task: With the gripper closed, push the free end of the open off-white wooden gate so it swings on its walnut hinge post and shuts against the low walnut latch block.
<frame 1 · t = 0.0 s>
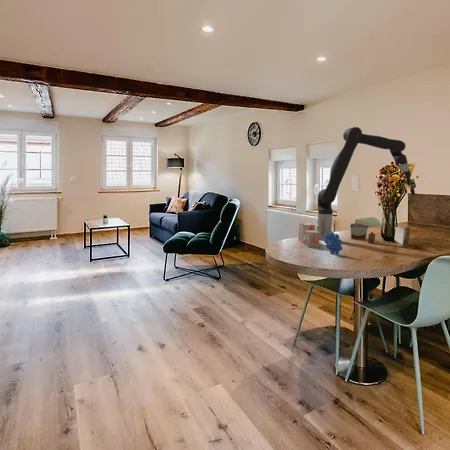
hand: (409, 193, 230), 31 cm above the table, tool tilted 20°, fingers open, 8 cm apart
latch post: (371, 243, 221), on the table
stack of blocks: (308, 244, 214), on the table
food container: (357, 238, 236), on the table
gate: (400, 235, 219), point 5 cm above the table, hinge at -55.0°
hinge post: (405, 247, 209), on the table
grapes: (331, 254, 188), on the table
sill: (388, 245, 216), on the table
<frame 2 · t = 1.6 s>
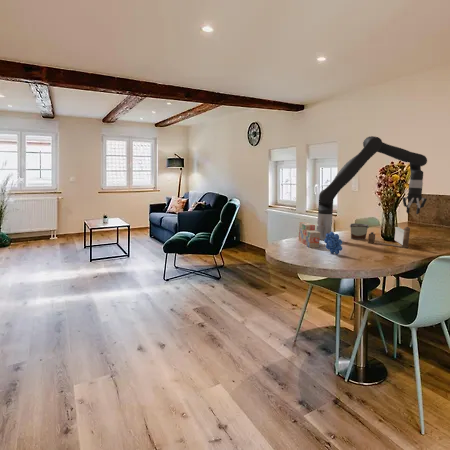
hand: (412, 213, 221), 19 cm above the table, tool pointing down, fingers open, 4 cm apart
nothing on the table moved.
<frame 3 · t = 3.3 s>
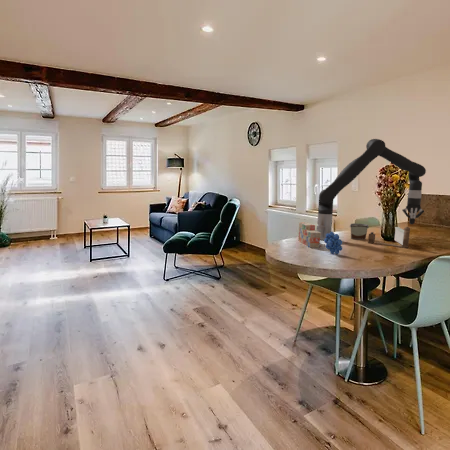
hand: (411, 224, 222), 13 cm above the table, tool pointing down, fingers closed
nothing on the table moved.
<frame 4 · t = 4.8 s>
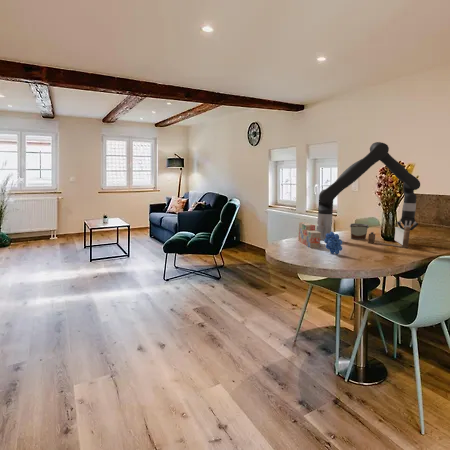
hand: (405, 236, 224), 4 cm above the table, tool pointing down, fingers closed
nothing on the table moved.
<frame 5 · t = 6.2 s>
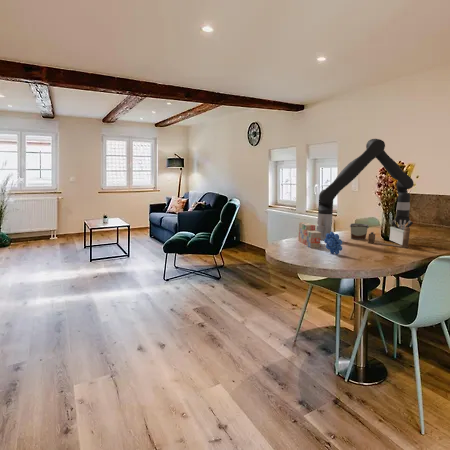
hand: (400, 235, 224), 5 cm above the table, tool pointing down, fingers closed
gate: (397, 235, 219), point 5 cm above the table, hinge at -45.8°, touching hand
everything else where it was.
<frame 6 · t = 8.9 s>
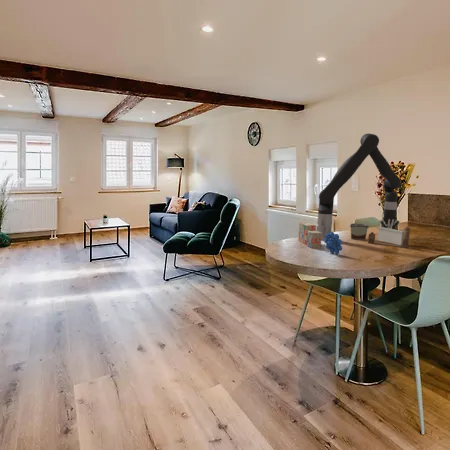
hand: (388, 234, 225), 5 cm above the table, tool pointing down, fingers closed
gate: (390, 235, 218), point 5 cm above the table, hinge at -19.4°, touching hand
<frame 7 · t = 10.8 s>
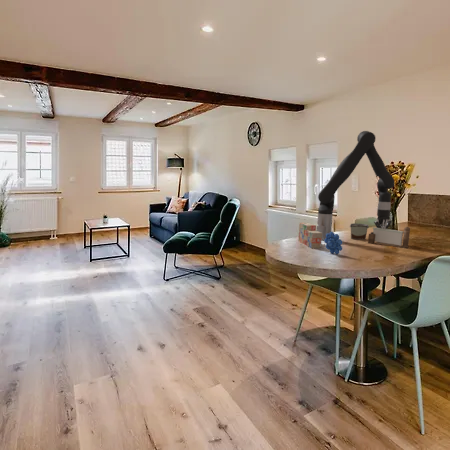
hand: (381, 235, 223), 5 cm above the table, tool pointing down, fingers closed
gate: (387, 236, 216), point 5 cm above the table, hinge at -2.2°, touching hand
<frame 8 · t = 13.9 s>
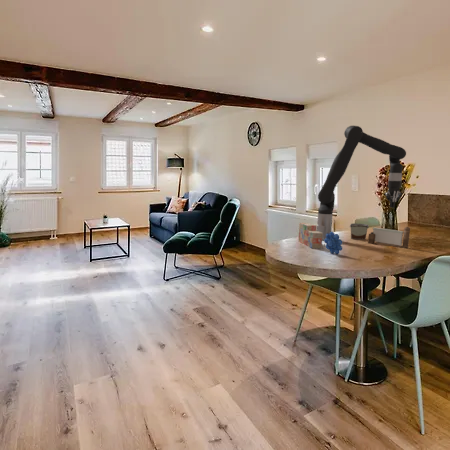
hand: (392, 207, 221), 23 cm above the table, tool pointing down, fingers closed
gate: (387, 236, 216), point 5 cm above the table, hinge at -1.8°
at the end: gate at -2° (first picture: -55°) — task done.
